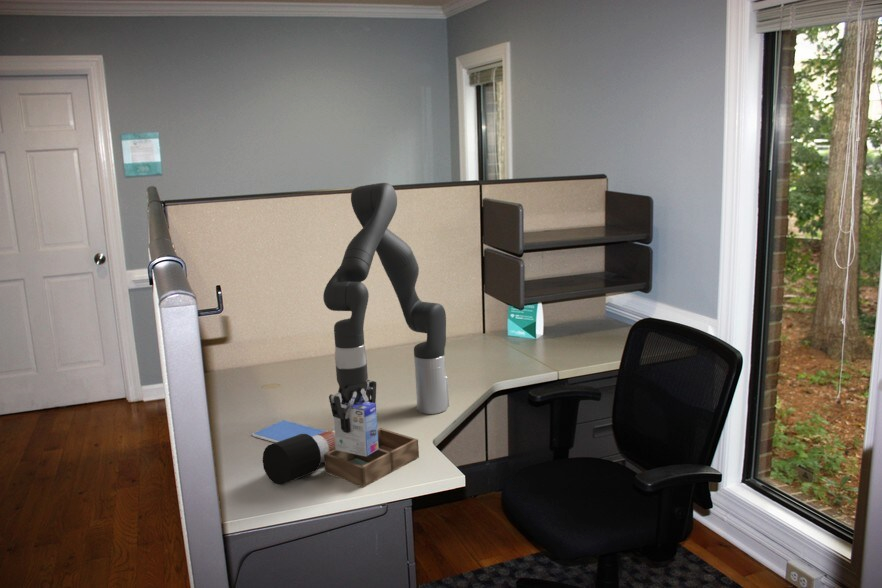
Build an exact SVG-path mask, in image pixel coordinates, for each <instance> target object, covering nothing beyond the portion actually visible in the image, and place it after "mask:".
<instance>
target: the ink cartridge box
mask: <svg viewBox="0 0 882 588" xmlns="http://www.w3.org/2000/svg"><path fill="white" fill-rule="evenodd" d="M345 405H348V403H345ZM345 410H346V409H345V408H344V413H345ZM377 414H378V413H377V402H376V403H370V402H362V396H361V397H360V400H359V402H356V403H355V404H353V408H352V410H350V414H349V418H350V432H349V433H346V432H343V430H342V429H341V421H340V419H339V418H336V417H333V426H334V427H333V428H334V429H333V430H335V447H336V450H337V451H342V452H347V453H352V454H356V455H361V456H368V455H370V454H372V453H373V452H375V451H377V450H378V449H379V446H378V430H377V429H378V419H377V418H378V416H377Z"/></svg>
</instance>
